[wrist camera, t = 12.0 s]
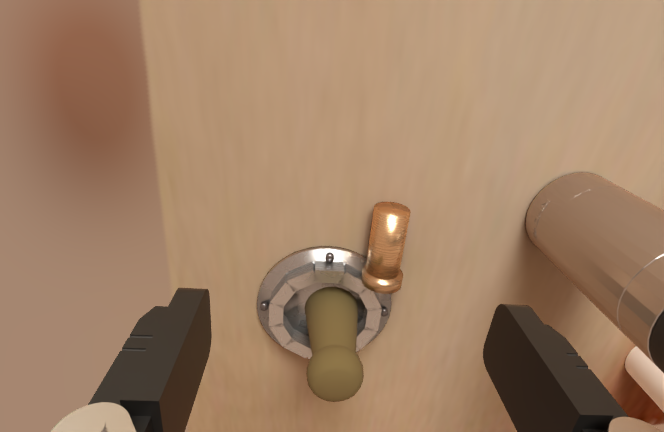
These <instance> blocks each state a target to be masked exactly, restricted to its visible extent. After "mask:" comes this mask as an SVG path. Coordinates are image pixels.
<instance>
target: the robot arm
mask: <svg viewBox="0 0 664 432" xmlns="http://www.w3.org/2000/svg"><path fill="white" fill-rule="evenodd" d="M526 230H527V233H528V236H529V238H530V239H531V241H532V242H533V243H534V244H535V245H536V246H537V247H538V248H539V249H540V250H541V251H542V252H543V253H544V254H545V255H546V256H547V257H548V258H549V259H550V260H551V262H552V263H553V264H554V265H555V266H556V267H557V268H558V269H559V270H560V271H561V272H562V273H563V274H564V275H565V276H566V277H567V278H568V279H569V280H570V281H571V282H572V283H573V284H574V285H575V286H576V287H577V288H578V289H579V290H580V291H581V292H582V293H583V294H584V295H585V296H586V297H587V298H588V299H589V300H590V301H591V302H592V303H593V304H594V305H595V306H596V307H597V308H598V309H599V310H600V311H601V312H602V313H603V314H604V315H605V316H606V317H607V318H608V319H609V320H610V321H611V322H612V323H613V324H614V325H615V326H616V327H617V328H618V329H619V330H621V331H622V332H623V333H624V334H625V335H626V336H627V337H628V338H629V339H630V340H631V341H632V342H633V343H634V344H635V345H636V346H637V347H638V348H639V349H640V350H641V351H642V352H643V353H644V354H645V355H646V356H647V357H648V358H649V359H650V360H651V361H652V362H653V363H654V364H655V365H656V366H657V367H658V368H659V369H660V370H661V371H662V372H663V373H664V210H662V209H660V208H659V207H657V206H655V205H653V204H651V203H649V202H647V201H645V200H643V199H642V198H640V197H638V196H636V195H634V194H632V193H630V192H629V191H627V190H625V189H623V188H621V187H619V186H617V185H616V184H614V183H612V182H610V181H608V180H606V179H604V178H602V177H600V176H598V175H595V174H592V173H583V172H581V173H572V174H569V175H566V176H562V177H560V178H558V179H556V180H554V181H552V182H551V183H550V184H548V185H547V186H546V187H544V188H543V189H542V190H541V191H540V192H539V193H538V194H537V196H536V197H535V199H534V200H533V201H532V203H531V205H530V207H529V210H528V212H527V217H526ZM210 347H211V316H210V297H209V291H208V289H193V288H178V289H177V291H176V293H175V295H174V297H173V298H172V300H171V302H170V304H169V306H168V307H162V306H155V307H154V308H153V309H151V310H150V311H149V312H148V313H146V314H145V315H144V316H143V317H142V318H140V319H139V321H138V322H137V324H136V326H135V327H134V329H133V331H132V332H131V334H130V338H128V339H127V341H126V342H125V344H124V346H123V348H122V351H120V352H119V354H118V356H117V358H116V359H115V361H114V362H113V364H112V366H111V367H110V369H109V371H108V372H107V374H106V376H105V377H104V379H103V381H102V382H101V384H100V386H99V388H98V389H97V391H96V393H95V394H94V396H93V398H92V399H91V401H90V402H89V404H88V405H87V406H84V407H81V408H79V409H77V410H75V411H73V412H72V413H70V414H69V415H67V416H66V417H64V418H63V419H62V420H61V421H59V422H58V423H57V424H56V425H55V426H54V428H53V429H52V430H51V432H185V429H186V426H187V422H188V419H189V416H190V413H191V410H192V407H193V404H194V401H195V398H196V394H197V391H198V388H199V385H200V382H201V379H202V376H203V373H204V369H205V366H206V363H207V360H208V357H209V352H210ZM483 358H484V364H485V367H486V370H487V372H488V374H489V376H490V378H491V380H492V382H493V384H494V386H495V388H496V390H497V392H498V394H499V396H500V398H501V400H502V402H503V404H504V406H505V408H506V410H507V412H508V414H509V416H510V418H511V420H512V422H513V424H514V426H515V428H516V430H517V432H662V431H661V430H659V429H657V428H656V427H654V426H652V425H650V424H648V423H646V422H644V421H641V420H638V419H635V418H631V417H628V415H627V414H626V413H625V412H624V410H623V409H622V408H621V407H620V405H619V404H618V403H617V402H616V400H615V399H614V398H613V397H612V395H611V394H610V393H609V392H608V390H607V389H606V388H605V387H604V385H603V384H602V383H601V382H600V381H599V379H598V378H597V377H596V376H595V374H594V373H593V372H592V371H591V370H590V369H588V366H587V364H586V363H585V362H584V361H583V359H582V358H581V357H580V356H578V353H577V352H576V351H575V349H574V348H573V347H572V346H571V344H570V343H569V342H568V341H567V339H566V338H565V337H563V336H562V335H561V334H559V333H558V332H557V331H555V330H554V329H553V328H552V327H550V326H549V325H544V324H543V322H542V321H541V320H540V319H539V317H538V316H537V315H536V313H535V312H534V311H533V309H532V308H531V307H529V306H527V305H507V304H500V305H499V306H498V307H497V308H496V310H495V313H494V316H493V319H492V322H491V325H490V329H489V332H488V335H487V338H486V341H485V344H484V349H483Z"/></svg>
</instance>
